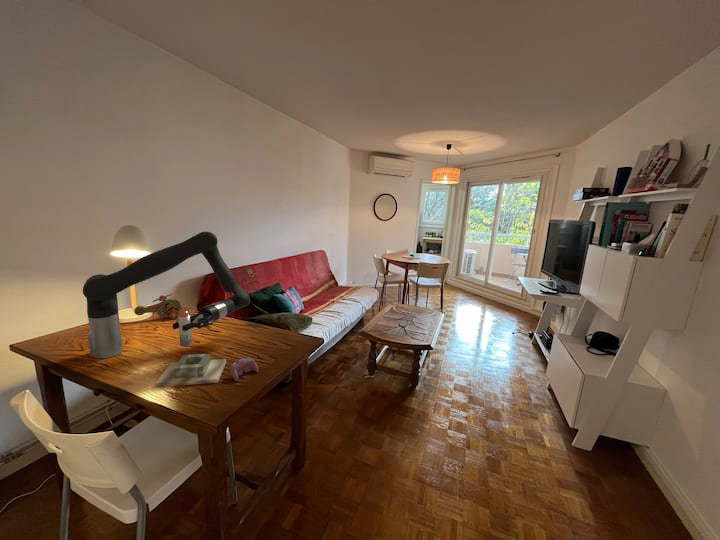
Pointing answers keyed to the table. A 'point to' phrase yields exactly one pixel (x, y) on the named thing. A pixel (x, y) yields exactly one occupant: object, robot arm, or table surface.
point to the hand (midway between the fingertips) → (178, 327)
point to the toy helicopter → (162, 308)
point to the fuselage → (184, 335)
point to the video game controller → (240, 363)
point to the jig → (192, 371)
